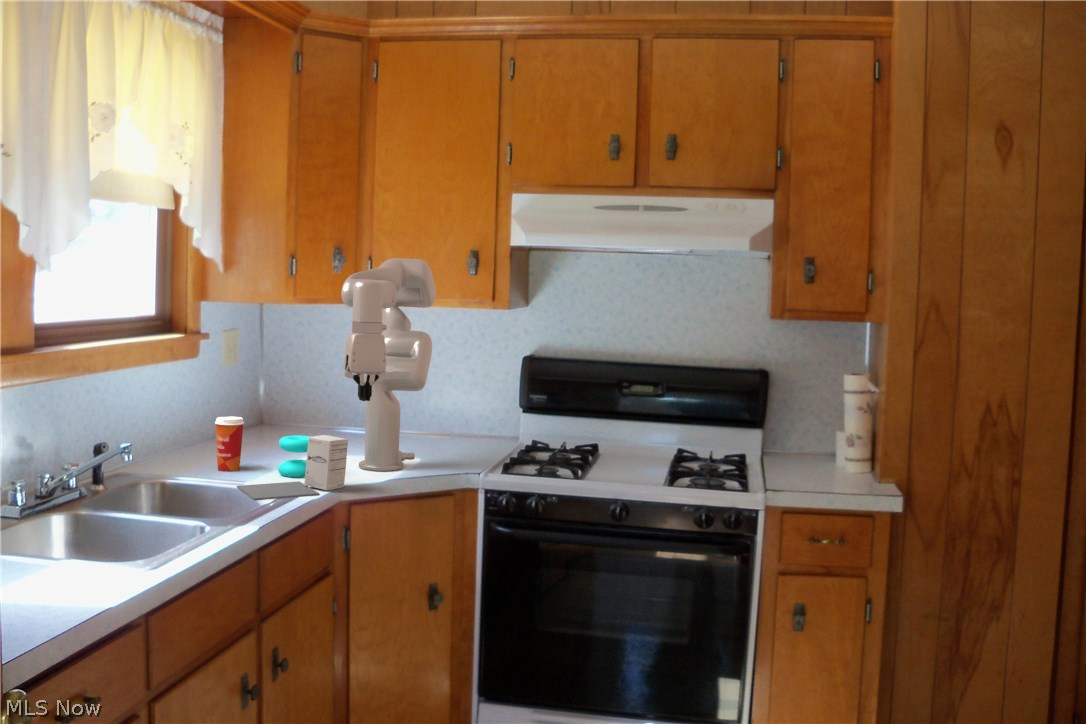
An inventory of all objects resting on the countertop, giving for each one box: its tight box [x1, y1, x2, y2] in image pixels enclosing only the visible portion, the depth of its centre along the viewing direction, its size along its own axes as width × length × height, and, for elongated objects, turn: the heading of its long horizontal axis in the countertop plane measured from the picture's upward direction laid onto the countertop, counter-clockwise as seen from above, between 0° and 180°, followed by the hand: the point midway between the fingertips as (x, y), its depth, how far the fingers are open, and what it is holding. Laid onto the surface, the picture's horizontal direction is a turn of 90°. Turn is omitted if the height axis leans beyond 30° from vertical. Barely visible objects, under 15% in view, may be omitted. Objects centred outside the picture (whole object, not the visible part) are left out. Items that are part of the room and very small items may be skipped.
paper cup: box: [214, 415, 245, 472], centre depth 267 cm, size 8×8×14 cm
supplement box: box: [304, 434, 349, 491], centre depth 250 cm, size 7×7×13 cm
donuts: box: [277, 434, 311, 478], centre depth 265 cm, size 10×10×10 cm
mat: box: [236, 481, 320, 501], centre depth 244 cm, size 16×15×1 cm
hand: (364, 400), depth 254 cm, fingers closed
